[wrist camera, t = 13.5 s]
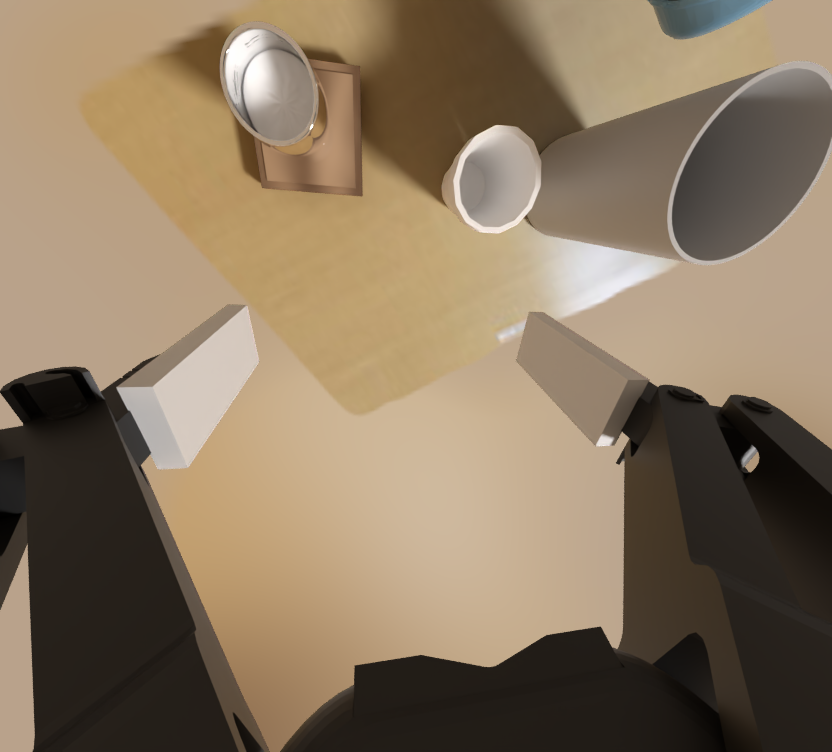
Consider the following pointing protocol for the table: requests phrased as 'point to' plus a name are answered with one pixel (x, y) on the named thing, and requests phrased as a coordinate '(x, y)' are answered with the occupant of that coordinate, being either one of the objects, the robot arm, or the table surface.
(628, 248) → the cylinder vase
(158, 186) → the table surface
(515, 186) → the foam cup
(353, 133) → the coaster
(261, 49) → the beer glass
